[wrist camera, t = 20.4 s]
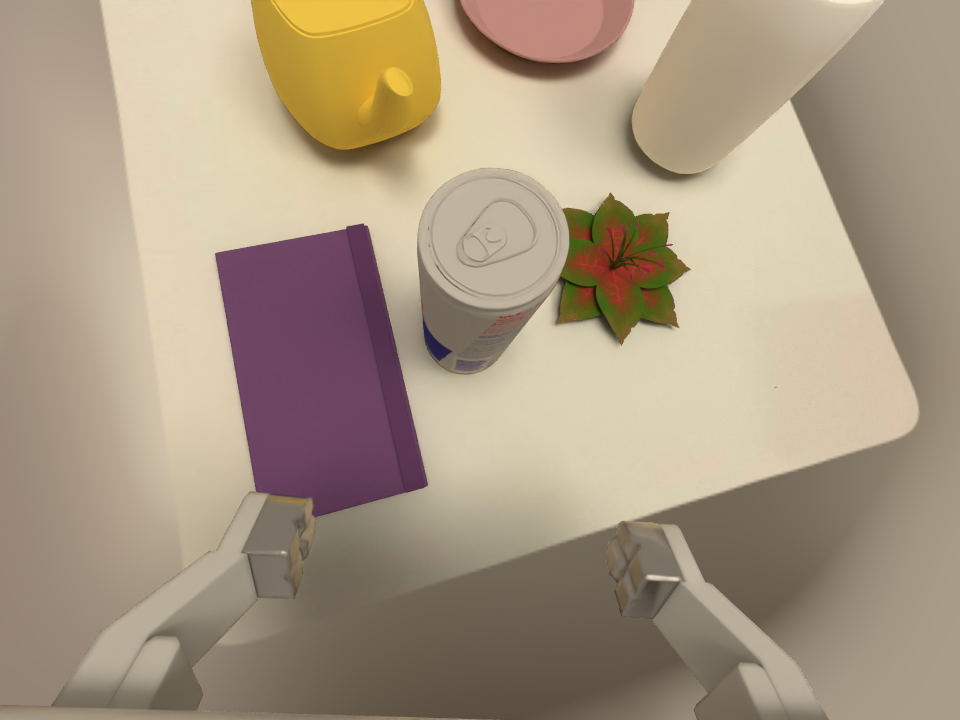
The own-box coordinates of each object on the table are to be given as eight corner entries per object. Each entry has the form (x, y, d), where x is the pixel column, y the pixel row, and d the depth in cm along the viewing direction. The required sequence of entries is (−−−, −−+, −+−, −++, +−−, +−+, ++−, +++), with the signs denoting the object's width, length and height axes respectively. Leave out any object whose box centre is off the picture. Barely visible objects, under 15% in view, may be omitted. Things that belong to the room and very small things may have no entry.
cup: (692, 80, 36) (855, -146, 22) (740, 168, 35) (942, -12, 21) (602, 108, 35) (717, -114, 21) (649, 200, 34) (803, 31, 20)
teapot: (482, 179, 32) (506, 53, 22) (340, 232, 30) (293, 123, 20) (383, -14, 34) (362, -213, 24) (244, 24, 32) (155, -174, 22)
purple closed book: (428, 485, 28) (427, 486, 27) (266, 529, 26) (260, 532, 26) (368, 228, 31) (366, 222, 30) (218, 256, 29) (212, 250, 28)
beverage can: (514, 309, 31) (589, 189, 16) (493, 384, 30) (553, 330, 15) (437, 285, 30) (442, 141, 16) (413, 361, 29) (394, 282, 15)
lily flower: (530, 189, 33) (545, 149, 28) (682, 199, 34) (720, 162, 29) (533, 347, 30) (550, 330, 26) (695, 351, 32) (738, 336, 27)
